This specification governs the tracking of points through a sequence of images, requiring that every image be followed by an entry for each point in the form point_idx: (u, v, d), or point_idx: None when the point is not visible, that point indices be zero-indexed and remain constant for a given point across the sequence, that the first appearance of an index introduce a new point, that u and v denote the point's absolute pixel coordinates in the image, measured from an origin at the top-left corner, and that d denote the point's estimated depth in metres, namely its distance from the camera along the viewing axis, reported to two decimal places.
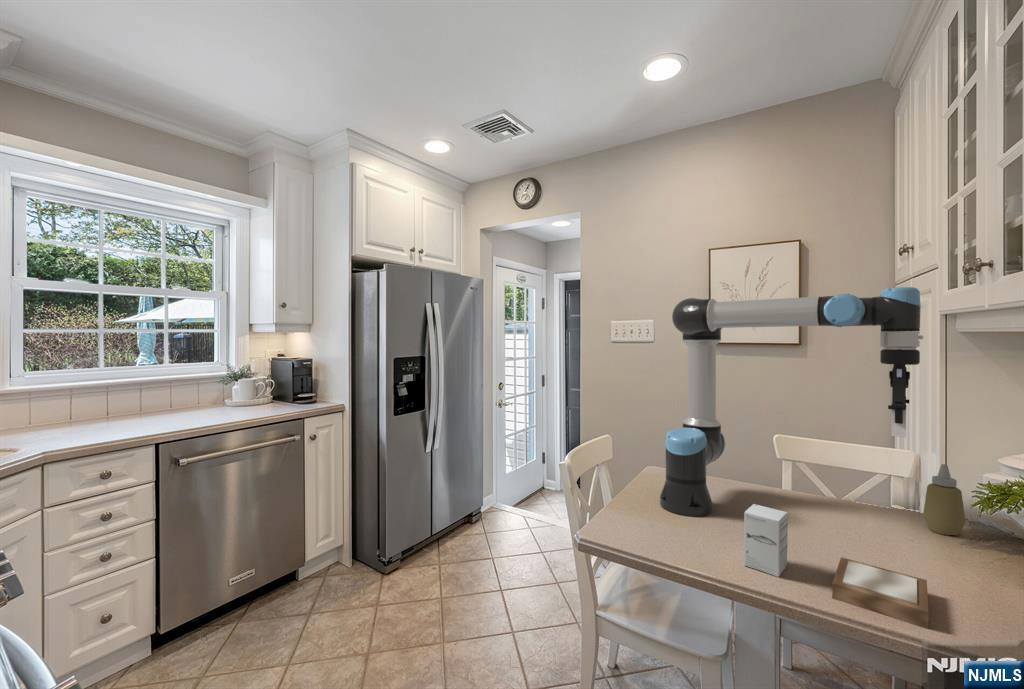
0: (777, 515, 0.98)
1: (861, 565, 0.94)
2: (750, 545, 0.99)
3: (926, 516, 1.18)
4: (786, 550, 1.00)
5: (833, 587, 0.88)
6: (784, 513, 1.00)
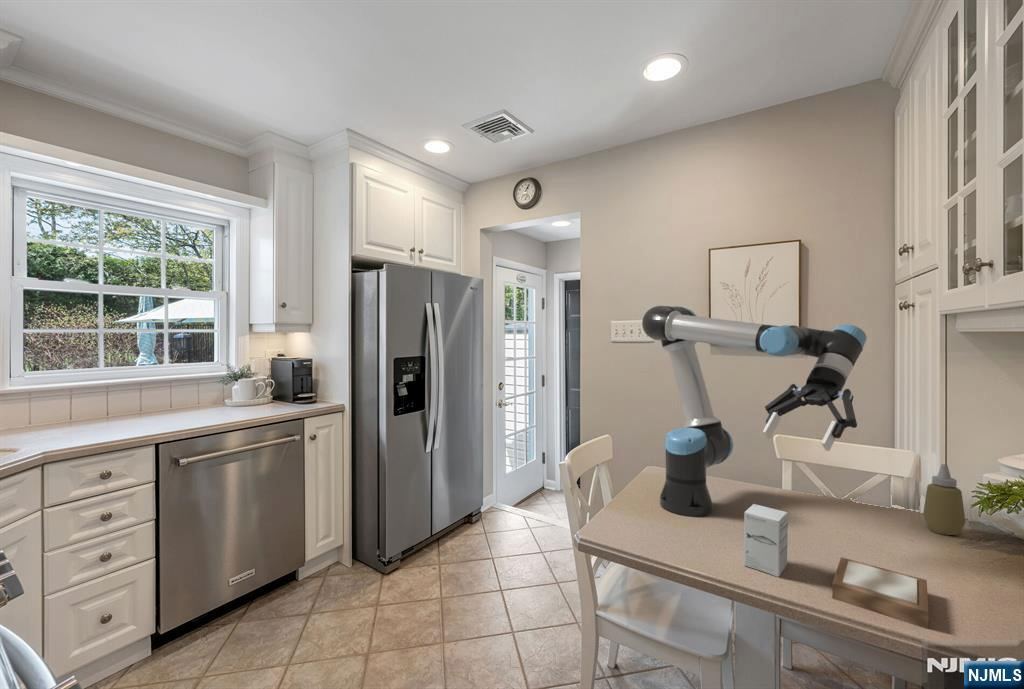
0: (777, 515, 0.98)
1: (861, 565, 0.94)
2: (750, 545, 0.99)
3: (926, 516, 1.18)
4: (786, 550, 1.00)
5: (833, 587, 0.88)
6: (784, 513, 0.99)
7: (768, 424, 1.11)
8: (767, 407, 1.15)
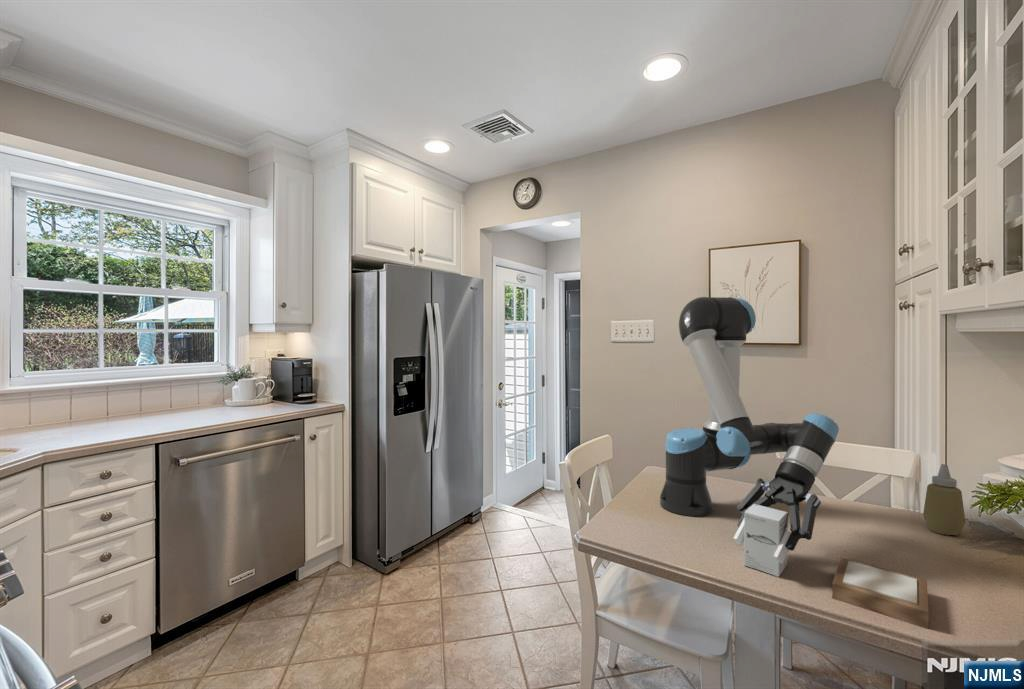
0: (777, 515, 0.98)
1: (861, 565, 0.94)
2: (751, 545, 0.99)
3: (926, 516, 1.18)
4: None
5: (833, 587, 0.88)
6: (784, 513, 0.99)
7: (739, 529, 1.04)
8: (740, 507, 1.08)
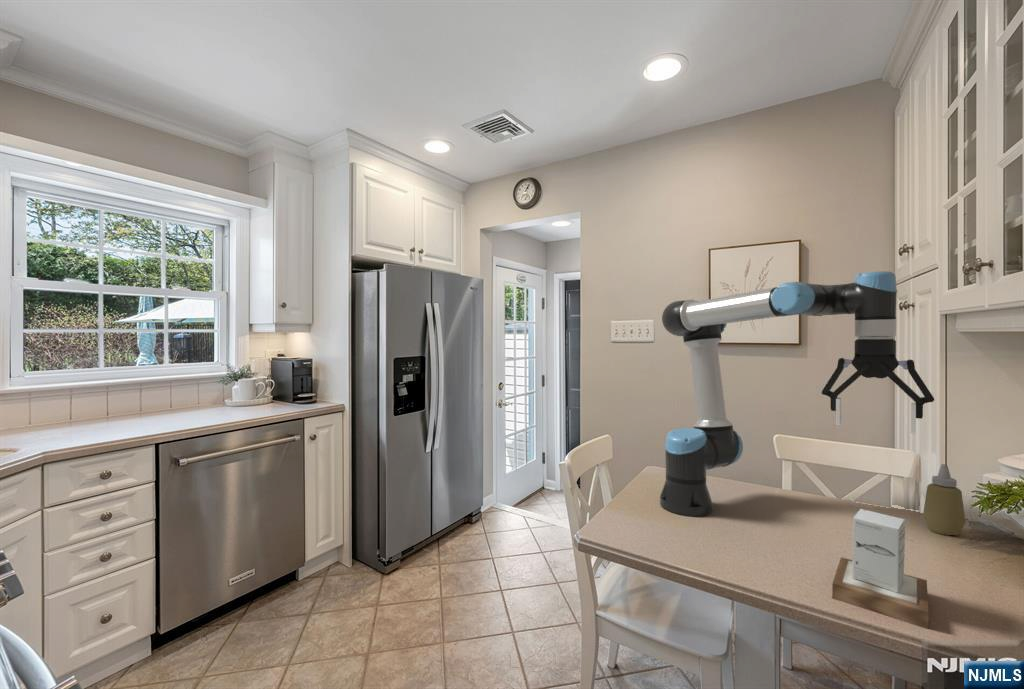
0: (894, 523, 0.86)
1: None
2: (861, 555, 0.88)
3: (926, 516, 1.18)
4: (903, 562, 0.88)
5: (833, 587, 0.88)
6: (901, 520, 0.87)
7: (838, 415, 1.07)
8: (825, 393, 1.09)
